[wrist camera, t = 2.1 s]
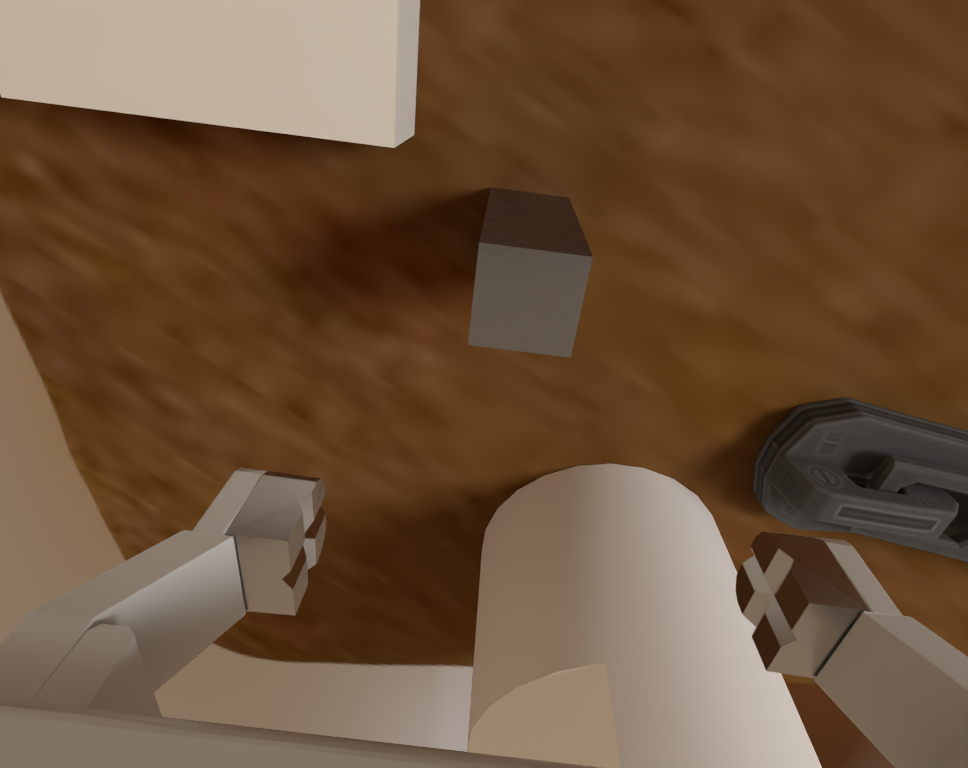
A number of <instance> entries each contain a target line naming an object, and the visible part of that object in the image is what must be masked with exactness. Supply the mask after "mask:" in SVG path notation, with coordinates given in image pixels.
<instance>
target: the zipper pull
mask: <svg viewBox="0 0 968 768" xmlns="http://www.w3.org/2000/svg"><path fill="white" fill-rule="evenodd" d="M753 491H754V492H755V494H756V496H757V498H758V500H759V501H760V503H761V505H762V507H763V509H764V510H765V511H766V512H767V513H769V514H770V515H772V516H774V517H776V518H777V519H779V520H781V521H783V522H784V523H786V524H788V525H790V526H791V527H793V528H795V529H804V530H821V531H838V532H853V533H857V534H861V535H865V536H869V537H873V538H877V539H881V540H884V541H888V542H892V543H896V544H900V545H904V546H908V547H912V548H915V549H919V550H923V551H927V552H931V553H935V554H939V555H943V556H946V557H950V558H954V559H958V560H961V561H964V562H967V563H968V431H965V430H962V429H958V428H954V427H951V426H947V425H943V424H940V423H936V422H932V421H929V420H925V419H921V418H918V417H914V416H910V415H907V414H903V413H899V412H896V411H892V410H888V409H885V408H882V407H878V406H875V405H871V404H868V403H865V402H861V401H858V400H855V399H851V398H847V397H845V398H839V399H833V400H827V401H821V402H815V403H809V404H803V405H799V406H797V407H796V408H795V409H794V410H793V411H792V412H791V413H790V414H789V415H788V416H787V417H786V418H785V419H784V420H783V421H782V422H781V423H780V424H779V425H778V426H777V427H776V428H775V429H774V430H773V431H772V432H771V433H770V434H769V436H768V437H767V439H766V441H765V443H764V445H763V447H762V449H761V451H760V453H759V455H758V456H757V458H756V460H755V471H754V482H753Z"/></svg>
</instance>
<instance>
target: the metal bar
mask: <svg viewBox="0 0 968 768" xmlns="http://www.w3.org/2000/svg"><path fill="white" fill-rule="evenodd" d="M592 258H593V256H592V254H591V251H590V249H589V246H588V244H587V241H586V239H585V237H584V234H583V232H582V229H581V227H580V224H579V222H578V219H577V217H576V214H575V212H574V209H573V207H572V204H571V202H570V199H569V198H567V197H559V196H552V195H544V194H536V193H528V192H520V191H513V190H505V189H497V188H491V189H490V194H489V199H488V203H487V208H486V213H485V217H484V222H483V227H482V231H481V236H480V241H479V248H478V257H477V267H476V276H475V285H474V294H473V303H472V313H471V322H470V331H469V340H468V345H474V346H482V347H490V348H498V349H506V350H514V351H522V352H530V353H538V354H546V355H554V356H562V357H570V358H571V354H572V349H573V344H574V340H575V335H576V331H577V326H578V322H579V317H580V313H581V308H582V303H583V299H584V294H585V290H586V285H587V281H588V276H589V271H590V267H591V262H592Z"/></svg>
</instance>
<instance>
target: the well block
mask: <svg viewBox="0 0 968 768" xmlns="http://www.w3.org/2000/svg"><path fill="white" fill-rule="evenodd" d="M419 13H420V0H0V95H1V97H3V98H11V99H18V100H26V101H34V102H42V103H49V104H57V105H65V106H73V107H80V108H88V109H96V110H104V111H112V112H119V113H127V114H135V115H143V116H150V117H158V118H166V119H174V120H181V121H189V122H197V123H205V124H213V125H220V126H228V127H236V128H244V129H251V130H259V131H267V132H275V133H282V134H290V135H298V136H306V137H313V138H321V139H329V140H337V141H345V142H352V143H360V144H368V145H376V146H383V147H391V148H395V147H396V146H398V145H399V144H401V143H403V142H404V141H406V140H407V139H409V138H410V137H412V136H413V135H414V130H415V107H416V83H417V60H418V37H419Z"/></svg>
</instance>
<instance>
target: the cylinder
mask: <svg viewBox="0 0 968 768" xmlns="http://www.w3.org/2000/svg"><path fill="white" fill-rule="evenodd" d="M736 576H737V571H736V569H735V567H734V565H733V562H732V560H731V558H730V555H729V553H728V551H727V549H726V546H725V544H724V542H723V539H722V537H721V535H720V532H719V530H718V528H717V526H716V523H715V521H714V519H713V516H712V515H711V513H710V512H709V511H708V509H707V508H706V507H705V505H704V504H703V503H702V501H701V500H700V499H699V497H698V496H697V495H696V494H694V493H693V492H691V491H690V490H689V489H687V488H686V487H684V486H683V485H681V484H680V483H679V482H677V481H676V480H674V479H672V478H670V477H667V476H664V475H661V474H659V473H656V472H653V471H651V470H648V469H645V468H640V467H632V466H625V465H617V464H599V465H586V466H575V467H572V468H568V469H565V470H561V471H558V472H554V473H551V474H547V475H544V476H542V477H540V478H539V479H537V480H535V481H533V482H531V483H529V484H528V485H526V486H524V487H522V488H520V489H518V490H517V491H516V492H515V493H514V494H513V495H512V496H511V497H509V498H508V499H507V500H506V501H505V502H504V503H503V504H502V505H501V506H500V507H499V508H498V509H497V510H496V512H495V514H494V516H493V517H492V519H491V521H490V523H489V524H488V526H487V528H486V530H485V535H484V541H483V547H482V555H481V569H480V582H479V596H478V610H477V623H476V637H475V651H474V664H473V678H472V692H471V707H470V720H469V733H468V747H467V752H471V753H480V754H489V755H498V756H506V757H515V758H524V759H533V760H541V761H550V762H559V763H568V764H576V765H585V766H594V767H603V768H822V767H821V765H820V762H819V760H818V757H817V755H816V753H815V751H814V748H813V746H812V744H811V741H810V739H809V737H808V735H807V733H806V730H805V728H804V725H803V723H802V721H801V719H800V716H799V714H798V712H797V709H796V707H795V705H794V703H793V700H792V698H791V696H790V693H789V691H788V689H787V686H786V684H785V682H784V679H783V677H782V675H781V673H777V672H770V671H766V669H765V667H764V664H763V662H762V660H761V657H760V655H759V652H758V650H757V648H756V645H755V643H754V641H753V638H752V634H753V632H754V629H755V626H754V625H753V624H752V623H751V622H750V621H749V620H748V619H747V618H746V617H745V616H744V615H743V614H742V612H741V609H740V607H739V604H738V601H737V596H736V591H735V590H736Z"/></svg>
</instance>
